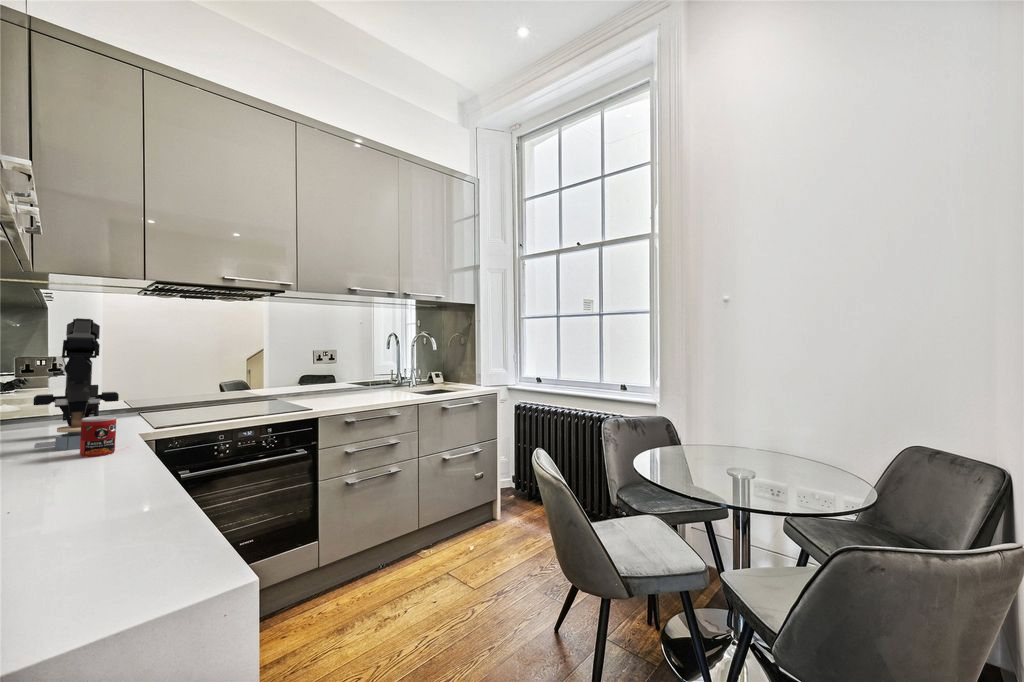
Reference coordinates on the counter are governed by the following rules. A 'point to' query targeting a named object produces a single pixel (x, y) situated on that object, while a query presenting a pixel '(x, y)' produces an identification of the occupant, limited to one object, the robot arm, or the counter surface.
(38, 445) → the mat
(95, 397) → the robot arm
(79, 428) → the lid
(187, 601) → the counter surface
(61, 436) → the bowl
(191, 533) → the counter surface
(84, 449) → the canned food
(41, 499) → the counter surface
